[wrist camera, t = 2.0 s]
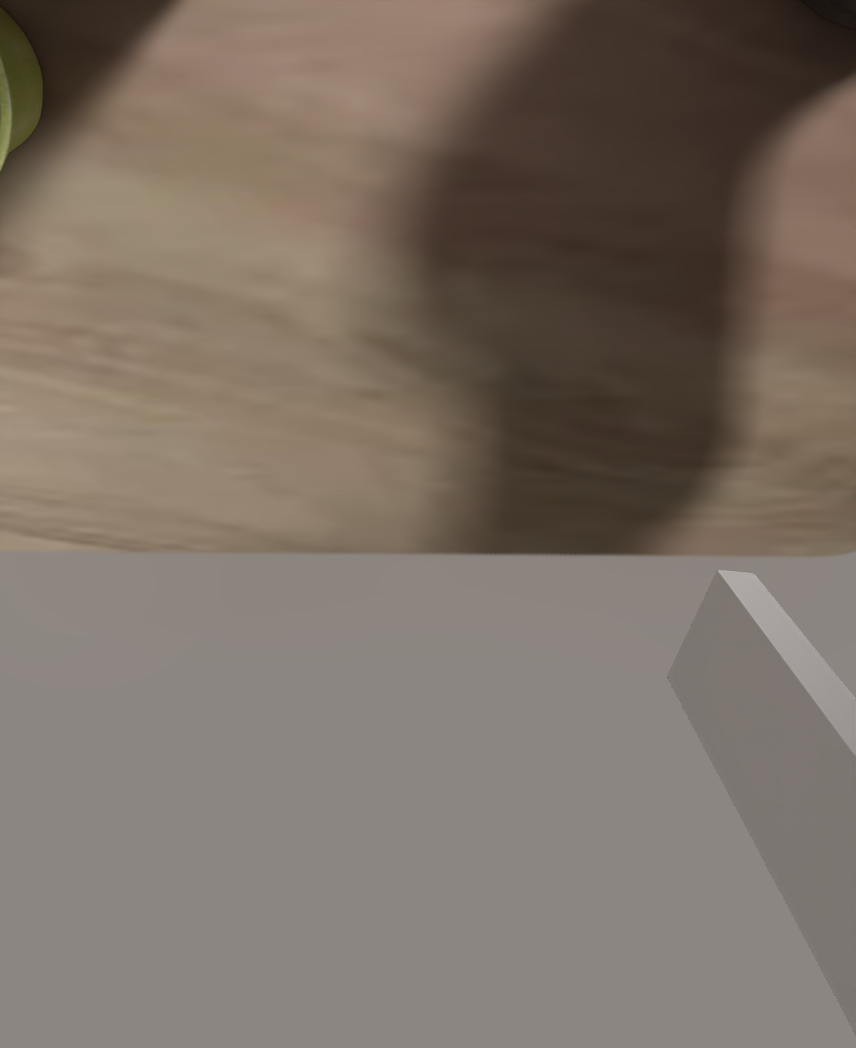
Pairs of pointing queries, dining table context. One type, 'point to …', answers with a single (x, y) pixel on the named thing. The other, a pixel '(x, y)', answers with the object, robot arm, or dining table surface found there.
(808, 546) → the dining table surface
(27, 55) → the plant pot
